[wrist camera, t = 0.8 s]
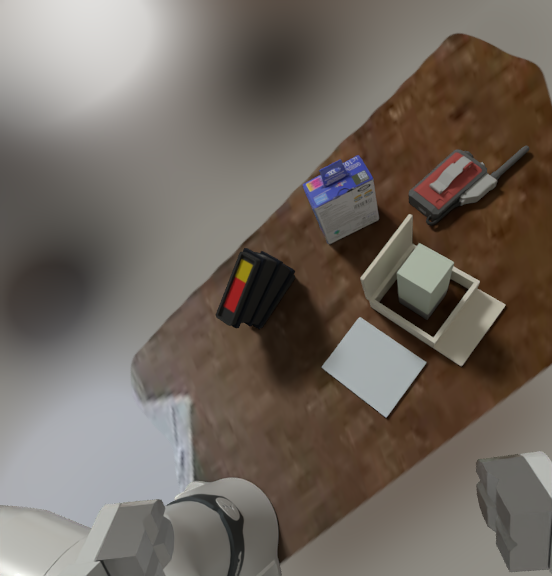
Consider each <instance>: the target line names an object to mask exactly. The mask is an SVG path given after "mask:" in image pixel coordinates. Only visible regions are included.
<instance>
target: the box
mask: <svg viewBox="0 0 552 576" xmlns="http://www.w3.org/2000/svg"><path fill="white" fill-rule="evenodd" d="M453 265H454V262H453V261H451V260H449V259H447V258H446V257H444V256H442V255H440V254H438V253H436V252H435V251H433V250H431V249H429V248H427V247H426V246H424V245H422V244H420V243H419V244H418V245H417V247H416V248H415V249H414V251H413V252H412V253H411V255H410V256H409V257H408V259H407V260H406V261H405V263H404V264H403V265H402V267H401V268H400V269H399V271H398V272H397V282H398V296H399V303H401V304H402V305H404V306H405V307H407V308H409V309H410V310H412V311H413V312H415V313H416V314H418V315H420V316H421V317H423V318H424V319H426V320H428V318H429V317H430V316H431V314H432V313H433V312H434V310H435V309H436V308H437V306H438V305H439V304H440V302H441V301H442V300H443V298H444V297H445V295H446V293H447V289H448V285H449V281H450V277H451V273H452V269H453Z"/></svg>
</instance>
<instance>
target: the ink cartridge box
mask: <svg viewBox="0 0 552 576" xmlns="http://www.w3.org/2000/svg"><path fill="white" fill-rule="evenodd" d="M319 172H320V174H321V175H320V176H318V177H316V178H314V179H312V180H310V181H308V182H306V183H304V184H303V188H304V190H305V193H306V195H307V198H308V200H309V202H310V205H311V207H312V209H313V212H314V214H315V216H316V218H317V221H318V223H319V226H320V228H321V230H322V232H323V235H324V237H325V239H326V241H327V243H328V244H331V243H333V242H335V241H337V240H339V239H341V238H343V237H345V236H347V235H349V234H351V233H353V232H355V231H357V230H359V229H361V228H363V227H365V226H367V225H369V224H371V223H373V222H376V221H378V220H379V214H378V208H377V202H376V195H375V188H374V180H373V177H372V176H371V174H370V172H369V171H368V169H367V167H366V166H365V164H364V162H363V161H362V159H361V158H360V156H359V155H358V156H356V157H354V158H352V159H350V160H348V161H346V162H344V163H342V160H338V161H337V162H335V163H333V164H331V165H329V166H327V167H325V168H323V169H321V170H319Z"/></svg>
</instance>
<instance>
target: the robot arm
mask: <svg viewBox="0 0 552 576" xmlns="http://www.w3.org/2000/svg"><path fill="white" fill-rule="evenodd" d="M476 472H477V474H478V476H479V478H480V482H478V484H477V496H478V501H479V506H480V509H481V511H482V514H483V517H484V519H485V521H486V524H487V526H488V527H489V528H491V529H492V530H493V531H495V532H496V545H497V547H498V549H499V551H500V553H501V555H502V557H503V559H504V561H505V563H506V566H507V568H508V570H509V572H518V571H532V570H533V571H534V570H548V569H550V572H551V573H552V462H551V460H550V459H549V458H548V456H547V455H546V454H545V453H543V452H542V451H540V452H532V453H524V454H519V455H518V454H515V455H508V456H500V457H494V458H486V459H478V460H477V463H476ZM278 536H279V534H278V523H277V518H276V515H275V512H274V509H273V507H272V505H271V503H270V501H269V499H268V498H267V496H266V495H265V494H264V493H263V492H262V491H261V490H260V489H259V488H258V487H257V486H255V485H254V484H252V483H251V482H249V481H246V480H244V479H240V478H224V479H221V480H218V481H215V482H210V483H208V482H203V481H194V482H191V483H190V484H188V486H187V487H186V489H185V491H184V492H183V493H180V494H178V495H177V496H176V497H175V501H173V502H171V503H169V504H168V505H166V506H164V505H163V502H162V500H159V499H156V500H147V501H135V502H124V503H117V504H107V505H105V506H104V507H103V508H101V510H100V511H99V514H98V516H97V518H96V520H95V522H94V524H93V526H92V528H89V527H86V526H84V525H82V524H79V523H77V522H74V521H72V520H70V519H67V518H65V517H62V516H60V515H57V514H55V513H52V512H50V511H47V510H42V509H35V508H27V507H17V506H4V505H0V576H281V570H280V564H279V560H278V557H277V548H278Z"/></svg>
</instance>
